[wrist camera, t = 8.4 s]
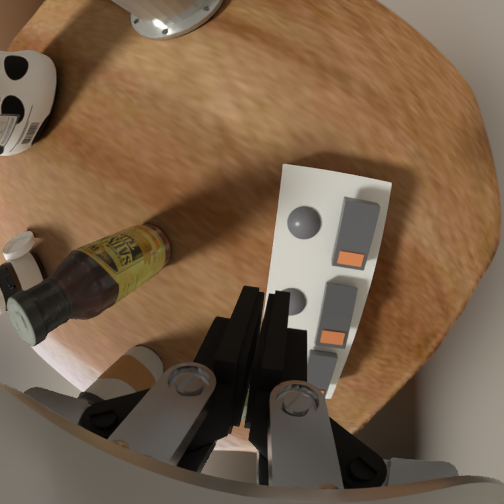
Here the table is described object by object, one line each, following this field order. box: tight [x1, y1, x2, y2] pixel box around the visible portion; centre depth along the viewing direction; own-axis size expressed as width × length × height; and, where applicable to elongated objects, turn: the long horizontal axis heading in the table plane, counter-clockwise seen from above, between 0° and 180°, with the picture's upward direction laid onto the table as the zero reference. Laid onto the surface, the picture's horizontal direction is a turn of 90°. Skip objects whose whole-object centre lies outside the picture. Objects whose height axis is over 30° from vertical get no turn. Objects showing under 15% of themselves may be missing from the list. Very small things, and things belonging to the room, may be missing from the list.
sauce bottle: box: [7, 224, 171, 346], centre depth 23 cm, size 7×6×20 cm
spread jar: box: [0, 231, 46, 315], centre depth 33 cm, size 12×11×12 cm
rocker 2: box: [331, 197, 380, 271], centre depth 23 cm, size 6×3×1 cm, turn 174°
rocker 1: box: [307, 349, 338, 398], centre depth 28 cm, size 6×3×1 cm, turn 174°
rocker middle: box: [314, 282, 358, 349], centre depth 25 cm, size 6×3×1 cm, turn 174°
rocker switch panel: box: [263, 164, 392, 399], centre depth 29 cm, size 26×10×4 cm, turn 174°
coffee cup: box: [78, 346, 163, 405], centre depth 32 cm, size 8×8×15 cm
